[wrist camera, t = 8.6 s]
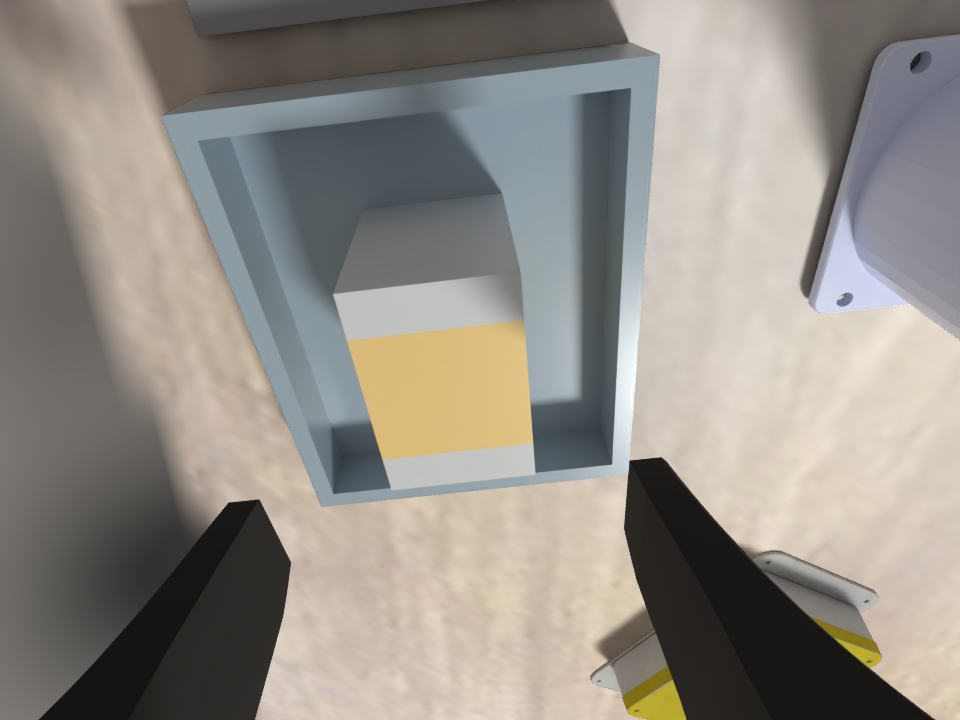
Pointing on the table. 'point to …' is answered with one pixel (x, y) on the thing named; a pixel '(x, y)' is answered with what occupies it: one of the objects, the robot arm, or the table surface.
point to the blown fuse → (440, 340)
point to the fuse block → (291, 12)
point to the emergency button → (807, 585)
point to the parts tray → (426, 178)
